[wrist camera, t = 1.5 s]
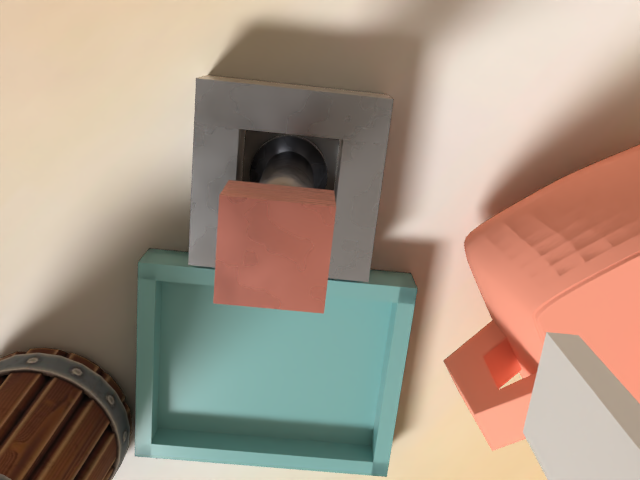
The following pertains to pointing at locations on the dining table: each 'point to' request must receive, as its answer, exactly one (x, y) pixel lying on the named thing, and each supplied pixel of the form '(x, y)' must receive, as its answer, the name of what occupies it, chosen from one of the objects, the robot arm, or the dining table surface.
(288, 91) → the eye block
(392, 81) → the dining table surface
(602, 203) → the teapot
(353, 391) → the tray
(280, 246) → the rod with pink block
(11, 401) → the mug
